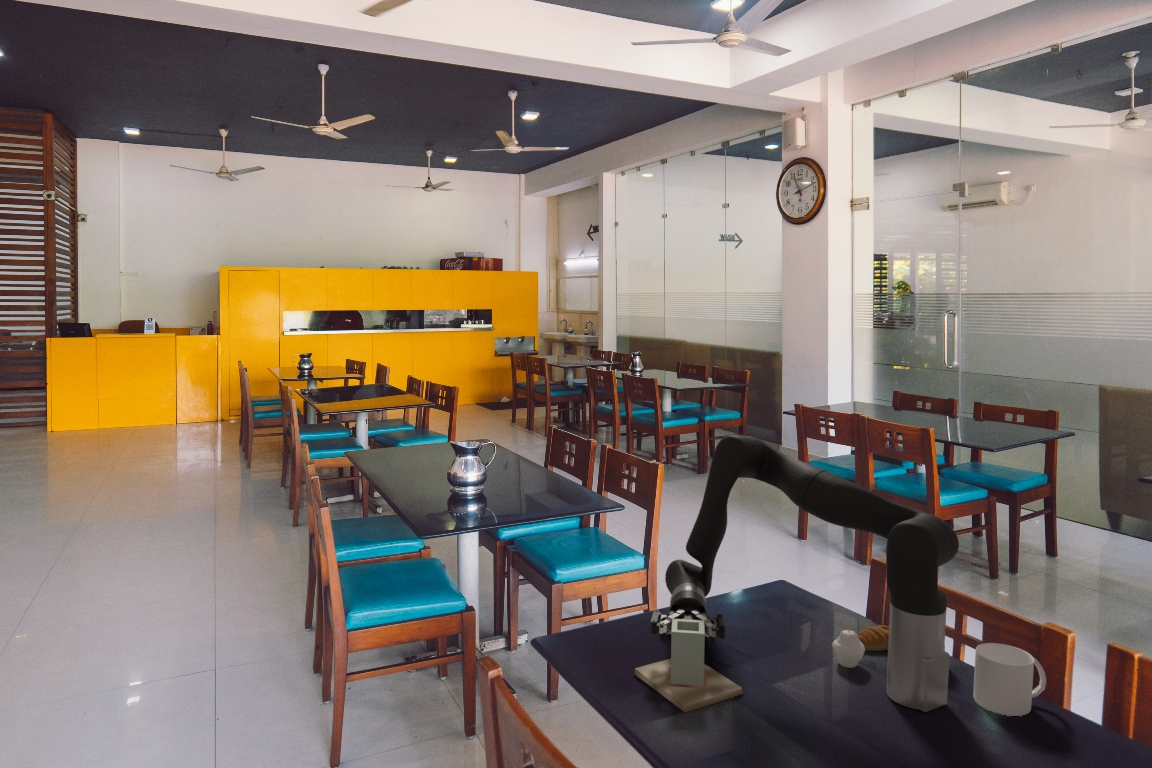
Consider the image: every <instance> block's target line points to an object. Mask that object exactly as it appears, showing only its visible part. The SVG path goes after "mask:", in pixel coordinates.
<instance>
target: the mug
mask: <svg viewBox="0 0 1152 768" xmlns="http://www.w3.org/2000/svg"><path fill="white" fill-rule="evenodd" d="M974 655H975V657H974V674H973V675H974V676H973V679H974V680H973V695H972V696H973V700H974V701H975V703H976V704H977V705H978V706H980V708H982V709H984V710H986V711H988V712H990V711H992V712H991V713H993V712H994V713H993V714H996V713H998V714H997V715H999V714H1001V715H1000V716H1003V715H1006V716H1005V717H1010V716H1020V717H1023V715H1025V716H1026V714H1027V715H1028V714H1029V713H1030V712H1031V710H1032V700H1033V698H1036V697H1038V696H1039V695H1041V693H1043V692H1044V691H1045V689H1046V686H1047V677H1046V673H1045V670H1044V667H1043V666H1042V665H1041V663H1040V662H1039V661H1038V660H1037V659H1036V658H1035V657H1033V655H1032V654H1031V653H1030V652H1027V651H1026V650H1024V649H1022V648H1019V647H1016V646H1013V645H1009V644H1004V643H996V642H985V643H980V644H978V645H977V646H976V647H975V654H974ZM1034 667H1036V669H1037V671H1038V674H1039V683H1038V685H1037V686H1036V687H1034V689H1033V683H1034V671H1035V670H1034Z"/></svg>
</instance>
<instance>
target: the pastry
mask: <svg viewBox="0 0 1152 768" xmlns="http://www.w3.org/2000/svg"><path fill="white" fill-rule="evenodd" d="M855 633H856V634H857V635H858V639H859V640H860V642H861V643H862V644H863V645H864V647H865V652H881V651H888V643H889V625H882V624H878V626H875V625H873V626H867V627H864V628H863V629H861V630H860V631H858V632H855Z"/></svg>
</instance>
